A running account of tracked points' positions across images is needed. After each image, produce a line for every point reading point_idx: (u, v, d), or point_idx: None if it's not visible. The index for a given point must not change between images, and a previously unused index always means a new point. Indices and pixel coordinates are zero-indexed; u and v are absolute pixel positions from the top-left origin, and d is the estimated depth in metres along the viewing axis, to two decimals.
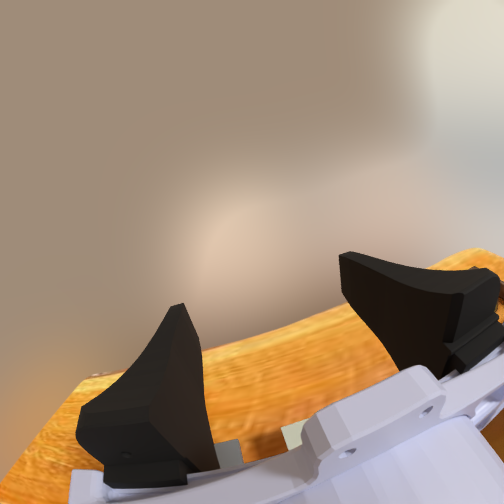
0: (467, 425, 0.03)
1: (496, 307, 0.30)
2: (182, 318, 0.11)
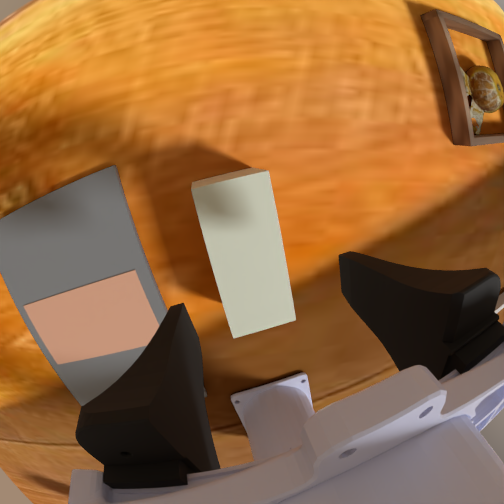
0: (467, 425, 0.03)
1: (492, 112, 0.21)
2: (182, 318, 0.11)
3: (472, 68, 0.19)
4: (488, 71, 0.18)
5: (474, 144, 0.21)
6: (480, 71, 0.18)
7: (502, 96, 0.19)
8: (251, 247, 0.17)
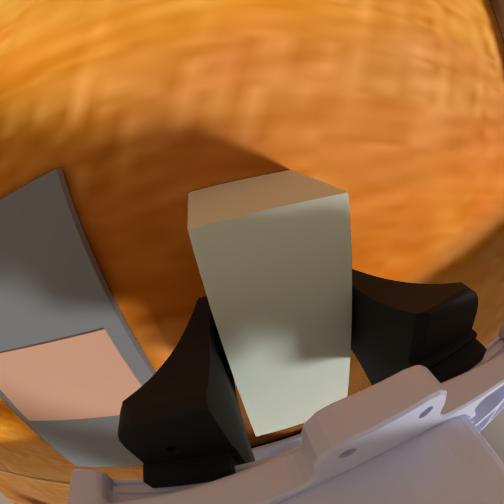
0: (467, 425, 0.03)
1: None
2: None
3: None
4: None
5: None
6: None
7: None
8: (299, 330, 0.09)
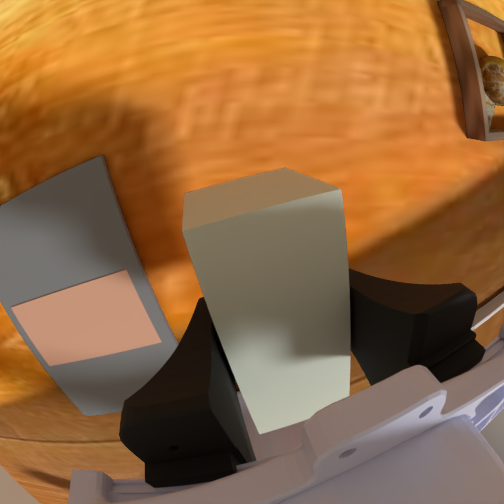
0: (467, 425, 0.03)
1: None
2: None
3: (484, 58, 0.16)
4: (501, 63, 0.15)
5: (489, 139, 0.18)
6: (492, 63, 0.16)
7: None
8: (298, 327, 0.09)
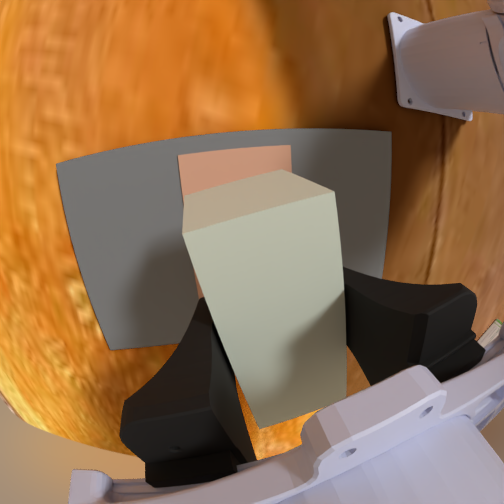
0: (467, 425, 0.03)
1: None
2: None
3: None
4: None
5: None
6: None
7: None
8: (295, 324, 0.10)
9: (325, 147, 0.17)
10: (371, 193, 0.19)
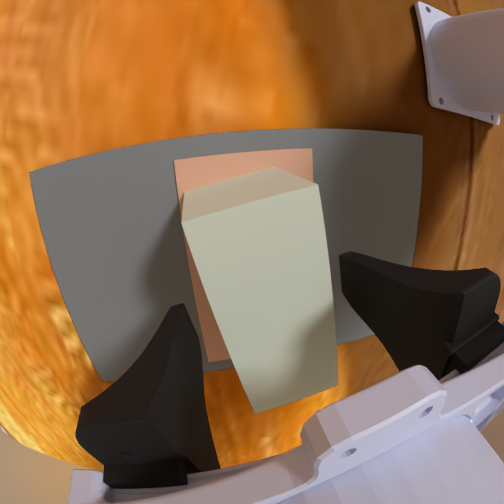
0: (467, 425, 0.03)
1: None
2: (182, 318, 0.11)
3: None
4: None
5: None
6: None
7: None
8: (285, 308, 0.10)
9: (351, 151, 0.14)
10: (400, 205, 0.16)
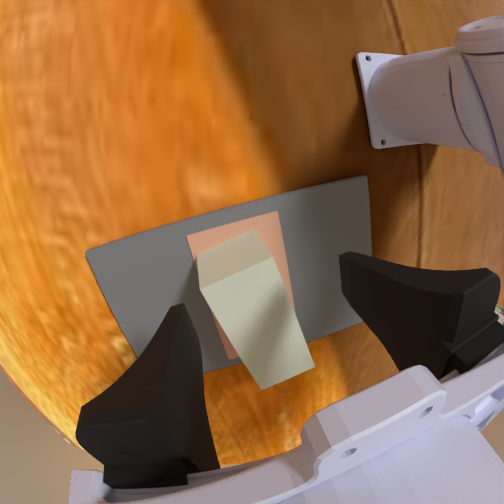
0: (467, 425, 0.03)
1: None
2: (182, 318, 0.11)
3: None
4: None
5: None
6: None
7: None
8: (266, 324, 0.18)
9: (307, 205, 0.21)
10: (353, 233, 0.23)
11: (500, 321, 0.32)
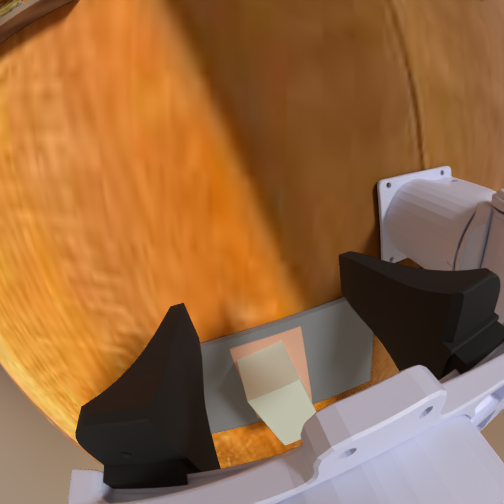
0: (467, 425, 0.03)
1: None
2: (182, 318, 0.11)
3: None
4: None
5: None
6: None
7: None
8: (291, 412, 0.22)
9: (324, 318, 0.25)
10: (359, 330, 0.27)
11: None
